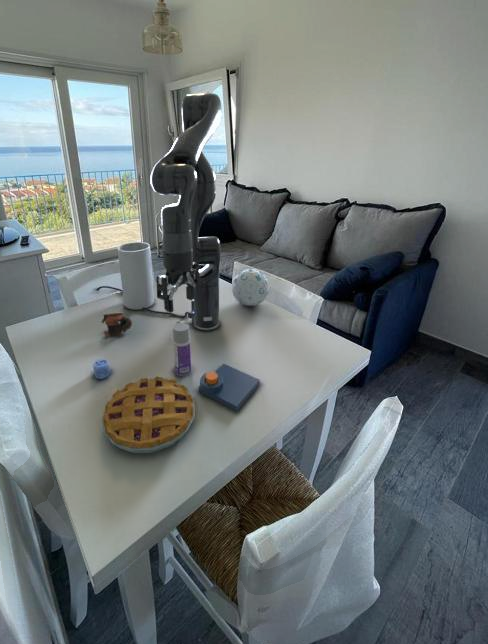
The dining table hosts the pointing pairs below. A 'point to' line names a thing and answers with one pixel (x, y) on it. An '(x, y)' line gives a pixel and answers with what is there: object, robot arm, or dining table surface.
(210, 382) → the button
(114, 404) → the pie
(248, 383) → the scale
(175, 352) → the container
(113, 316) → the pottery mug
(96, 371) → the decorative dice
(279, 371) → the dining table surface
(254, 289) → the puzzle ball
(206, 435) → the dining table surface
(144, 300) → the cylinder vase
